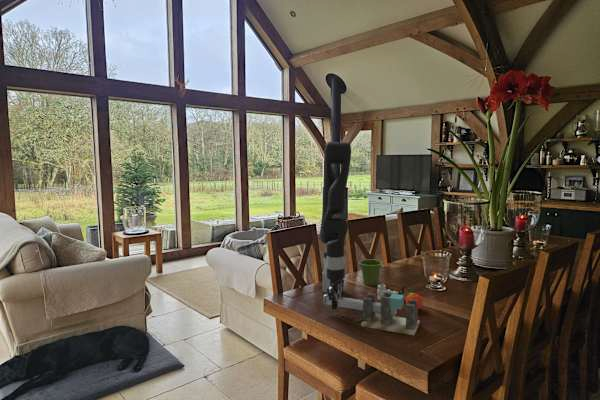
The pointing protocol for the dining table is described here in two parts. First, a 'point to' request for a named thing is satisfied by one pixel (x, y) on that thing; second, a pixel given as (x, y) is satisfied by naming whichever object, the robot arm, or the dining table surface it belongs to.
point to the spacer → (396, 301)
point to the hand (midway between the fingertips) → (336, 307)
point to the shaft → (355, 304)
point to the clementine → (414, 297)
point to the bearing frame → (390, 316)
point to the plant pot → (370, 271)
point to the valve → (382, 290)
